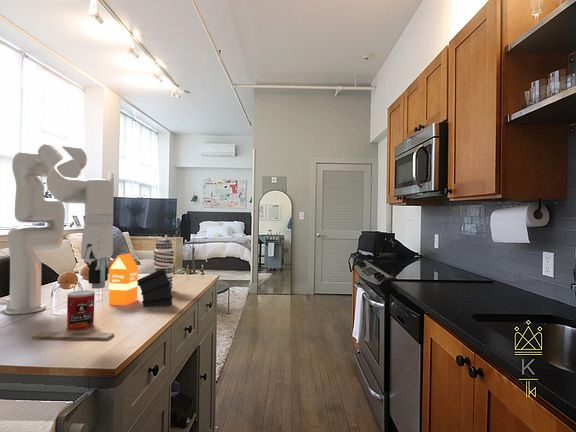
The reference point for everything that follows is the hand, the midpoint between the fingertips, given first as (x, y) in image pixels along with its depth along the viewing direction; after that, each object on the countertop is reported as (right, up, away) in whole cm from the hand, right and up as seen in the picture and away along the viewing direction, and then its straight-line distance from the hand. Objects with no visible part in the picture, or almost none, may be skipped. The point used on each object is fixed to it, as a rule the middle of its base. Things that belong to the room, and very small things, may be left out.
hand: (98, 281), depth 107 cm
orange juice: (-12, -17, +43) cm, 48 cm away
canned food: (-11, -17, +10) cm, 23 cm away
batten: (-7, -17, 0) cm, 18 cm away
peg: (0, -2, 0) cm, 2 cm away
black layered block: (+3, -17, +38) cm, 42 cm away
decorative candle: (-3, -17, +65) cm, 67 cm away
